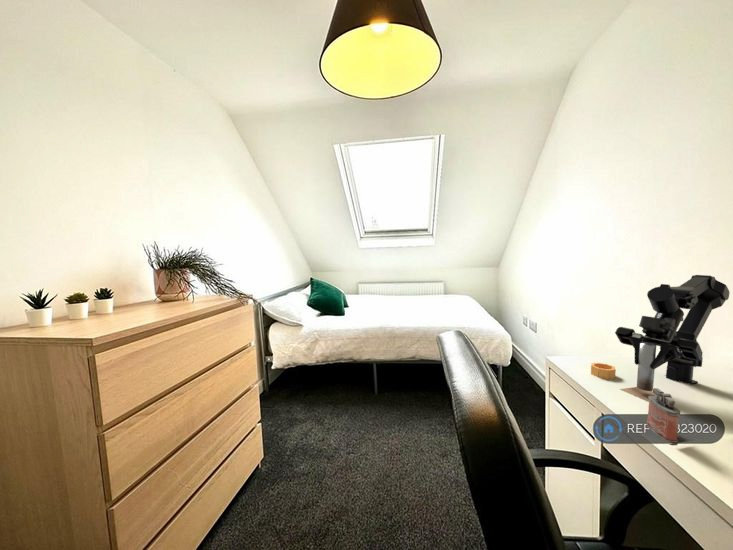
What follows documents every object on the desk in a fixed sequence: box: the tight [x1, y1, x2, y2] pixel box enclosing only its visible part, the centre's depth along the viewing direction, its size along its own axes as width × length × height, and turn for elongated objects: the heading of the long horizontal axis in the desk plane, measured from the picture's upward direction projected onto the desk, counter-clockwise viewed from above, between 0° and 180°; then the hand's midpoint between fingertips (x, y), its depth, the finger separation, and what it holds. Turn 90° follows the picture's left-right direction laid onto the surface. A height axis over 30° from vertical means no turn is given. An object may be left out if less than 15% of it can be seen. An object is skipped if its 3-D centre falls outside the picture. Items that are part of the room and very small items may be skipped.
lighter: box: [646, 387, 682, 446], centre depth 76 cm, size 8×3×10 cm, turn 168°
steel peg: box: [636, 342, 657, 391], centre depth 94 cm, size 4×4×13 cm
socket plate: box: [590, 362, 617, 380], centre depth 109 cm, size 9×9×4 cm
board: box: [619, 386, 657, 403], centre depth 95 cm, size 8×8×1 cm
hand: (644, 366), depth 94 cm, fingers closed on steel peg, 4 cm apart
